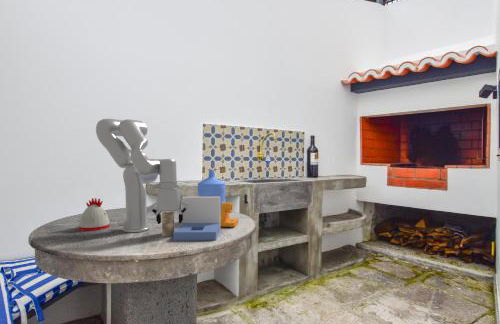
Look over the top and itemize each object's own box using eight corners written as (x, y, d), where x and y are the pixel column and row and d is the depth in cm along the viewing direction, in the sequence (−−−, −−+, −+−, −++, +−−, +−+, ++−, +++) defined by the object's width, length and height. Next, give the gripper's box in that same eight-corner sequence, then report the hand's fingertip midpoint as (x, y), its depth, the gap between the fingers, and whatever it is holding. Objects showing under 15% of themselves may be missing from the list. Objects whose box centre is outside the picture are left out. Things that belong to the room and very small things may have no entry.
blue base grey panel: (173, 240, 130) (173, 202, 130) (183, 229, 150) (183, 196, 150) (215, 240, 131) (215, 202, 130) (220, 229, 151) (220, 196, 150)
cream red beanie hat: (100, 231, 148) (99, 200, 148) (72, 230, 149) (72, 200, 149) (114, 224, 162) (114, 196, 162) (89, 224, 163) (89, 196, 162)
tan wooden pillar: (162, 235, 138) (162, 213, 138) (165, 232, 144) (165, 211, 144) (171, 235, 138) (170, 213, 138) (174, 232, 144) (174, 211, 144)
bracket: (233, 228, 153) (233, 204, 152) (219, 227, 154) (219, 203, 154) (238, 223, 163) (238, 201, 163) (225, 223, 165) (225, 200, 164)
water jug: (214, 216, 185) (214, 169, 184) (231, 219, 173) (230, 170, 173) (192, 219, 174) (191, 170, 174) (208, 224, 162) (207, 171, 162)
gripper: (146, 187, 137) (148, 225, 137) (185, 185, 137) (187, 224, 137) (152, 185, 145) (153, 222, 145) (188, 184, 145) (190, 220, 145)
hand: (169, 223), depth 141 cm, fingers open, 9 cm apart
